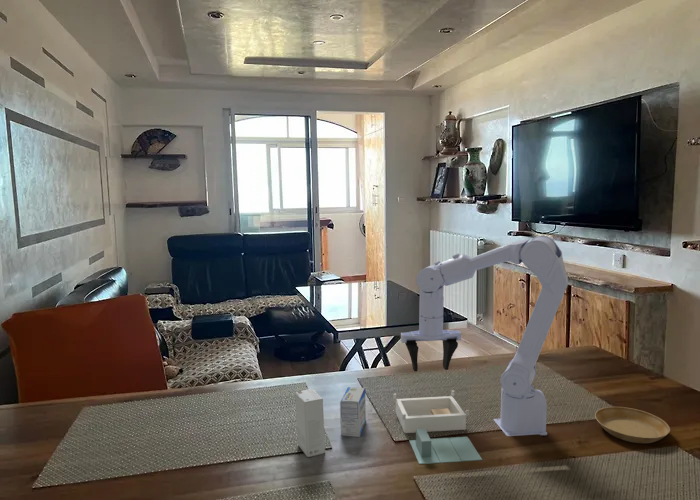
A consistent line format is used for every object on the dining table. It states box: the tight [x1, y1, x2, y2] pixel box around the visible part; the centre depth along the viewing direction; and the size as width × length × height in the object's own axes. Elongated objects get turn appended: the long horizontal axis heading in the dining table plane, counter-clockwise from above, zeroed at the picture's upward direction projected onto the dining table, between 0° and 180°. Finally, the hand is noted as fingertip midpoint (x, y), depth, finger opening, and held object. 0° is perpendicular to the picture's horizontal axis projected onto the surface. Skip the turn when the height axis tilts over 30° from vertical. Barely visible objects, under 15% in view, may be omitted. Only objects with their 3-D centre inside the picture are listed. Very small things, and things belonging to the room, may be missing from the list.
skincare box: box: [294, 388, 326, 458], centre depth 106 cm, size 6×4×12 cm
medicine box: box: [339, 386, 367, 438], centre depth 114 cm, size 8×4×9 cm, turn 168°
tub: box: [392, 390, 470, 434], centre depth 117 cm, size 15×11×5 cm
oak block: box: [431, 408, 451, 415], centre depth 116 cm, size 4×3×2 cm
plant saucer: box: [594, 406, 671, 444], centre depth 113 cm, size 15×15×3 cm
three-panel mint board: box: [408, 429, 483, 465], centre depth 104 cm, size 13×9×4 cm
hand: (430, 369), depth 123 cm, fingers open, 7 cm apart
